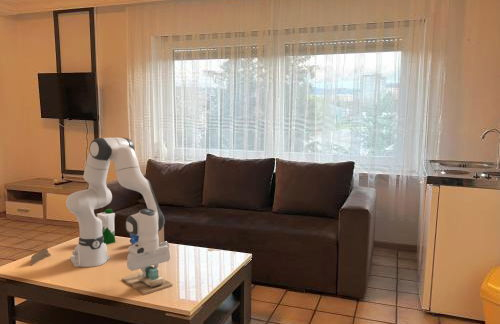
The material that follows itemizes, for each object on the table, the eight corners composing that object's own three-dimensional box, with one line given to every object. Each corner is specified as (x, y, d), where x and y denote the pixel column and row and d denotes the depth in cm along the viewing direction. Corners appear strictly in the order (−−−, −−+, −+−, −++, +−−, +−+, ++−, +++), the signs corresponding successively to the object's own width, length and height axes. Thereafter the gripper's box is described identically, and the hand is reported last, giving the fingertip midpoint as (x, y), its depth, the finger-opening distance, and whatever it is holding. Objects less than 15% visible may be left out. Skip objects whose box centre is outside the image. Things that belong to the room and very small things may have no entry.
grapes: (138, 241, 254) (137, 222, 253) (146, 242, 252) (146, 223, 250) (124, 246, 244) (124, 226, 243) (133, 248, 241) (133, 228, 240)
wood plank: (34, 265, 213) (33, 256, 213) (30, 265, 214) (29, 256, 213) (50, 255, 229) (50, 246, 228) (47, 255, 229) (46, 246, 228)
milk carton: (117, 242, 253) (116, 209, 250) (103, 245, 246) (102, 212, 244) (109, 239, 258) (108, 207, 256) (96, 242, 251) (94, 210, 249)
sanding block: (138, 279, 192) (137, 266, 191) (150, 276, 196) (149, 263, 195) (151, 287, 183) (150, 273, 182) (163, 283, 187) (162, 269, 186)
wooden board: (121, 279, 195) (121, 277, 195) (148, 272, 205) (148, 270, 205) (144, 294, 179) (144, 292, 179) (172, 285, 189) (172, 283, 189)
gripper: (165, 239, 197) (166, 267, 199) (124, 248, 183) (125, 278, 185) (172, 242, 193) (173, 270, 194) (131, 251, 179) (132, 282, 180)
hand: (149, 274), depth 189 cm, fingers closed on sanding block, 3 cm apart
